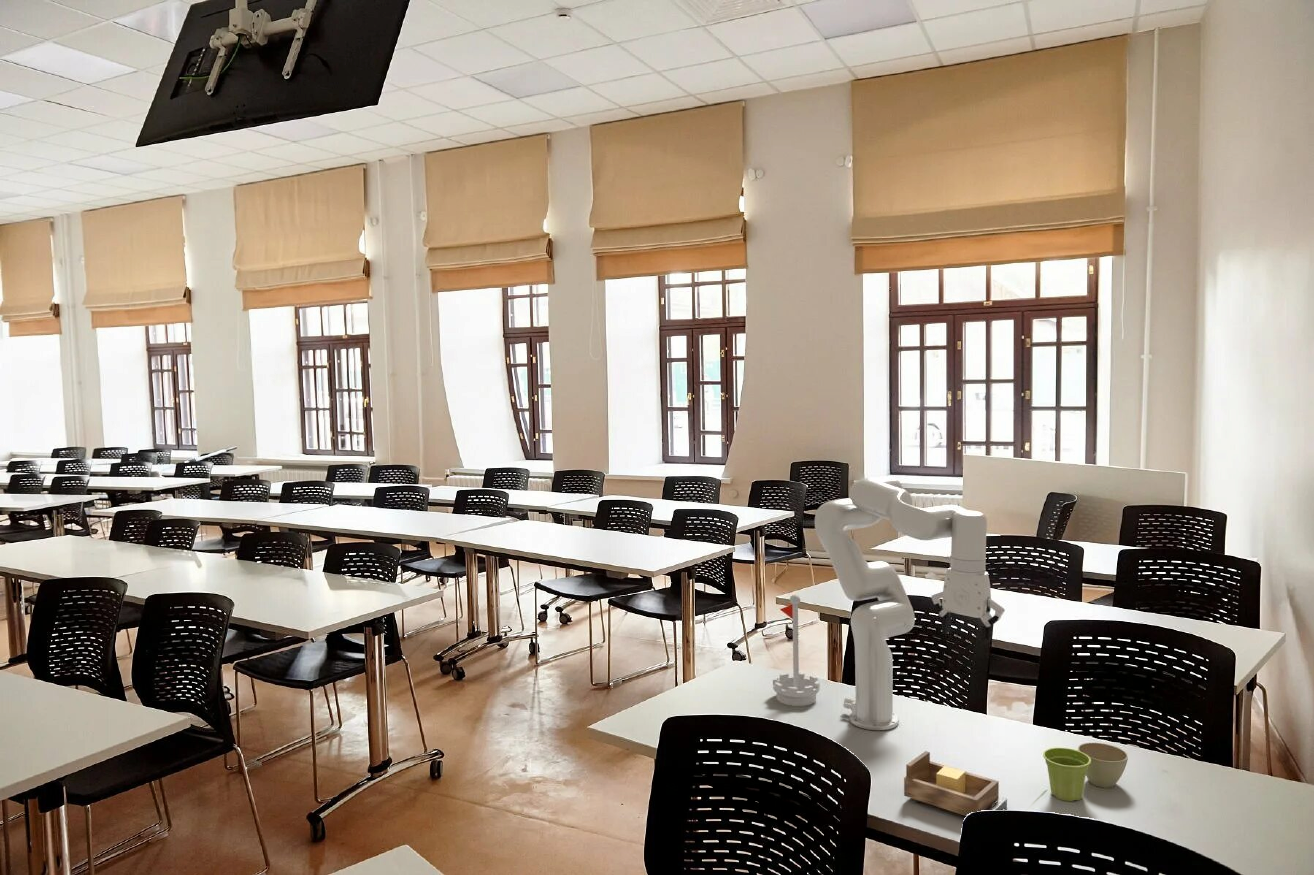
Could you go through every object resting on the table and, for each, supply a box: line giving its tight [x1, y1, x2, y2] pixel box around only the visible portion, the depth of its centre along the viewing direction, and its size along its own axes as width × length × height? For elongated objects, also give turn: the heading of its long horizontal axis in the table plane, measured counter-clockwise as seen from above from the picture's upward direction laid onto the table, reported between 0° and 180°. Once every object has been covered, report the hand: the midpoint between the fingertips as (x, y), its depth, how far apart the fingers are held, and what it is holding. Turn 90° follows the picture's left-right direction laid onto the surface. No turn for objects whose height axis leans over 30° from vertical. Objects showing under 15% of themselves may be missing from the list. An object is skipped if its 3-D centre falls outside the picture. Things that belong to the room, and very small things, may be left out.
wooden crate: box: [903, 750, 1000, 817], centre depth 194 cm, size 16×11×8 cm
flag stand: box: [772, 593, 821, 707], centre depth 257 cm, size 13×13×30 cm
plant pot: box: [1042, 747, 1091, 802], centre depth 198 cm, size 9×9×9 cm
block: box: [936, 765, 966, 794], centre depth 194 cm, size 4×4×4 cm
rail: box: [988, 797, 1008, 810], centre depth 197 cm, size 28×11×2 cm, turn 47°
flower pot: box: [1077, 742, 1129, 789], centre depth 203 cm, size 10×10×7 cm
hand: (966, 637), depth 212 cm, fingers open, 9 cm apart
